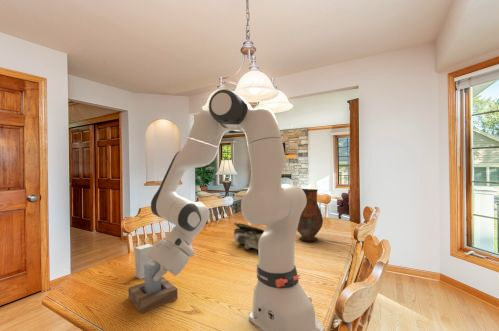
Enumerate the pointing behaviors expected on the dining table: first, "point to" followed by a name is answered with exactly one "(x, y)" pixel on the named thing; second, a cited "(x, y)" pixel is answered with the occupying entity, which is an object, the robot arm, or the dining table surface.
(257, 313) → the robot arm
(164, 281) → the socket block
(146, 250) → the skincare box
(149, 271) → the post
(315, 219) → the brown vase
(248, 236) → the hollow geode rock
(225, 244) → the dining table surface
